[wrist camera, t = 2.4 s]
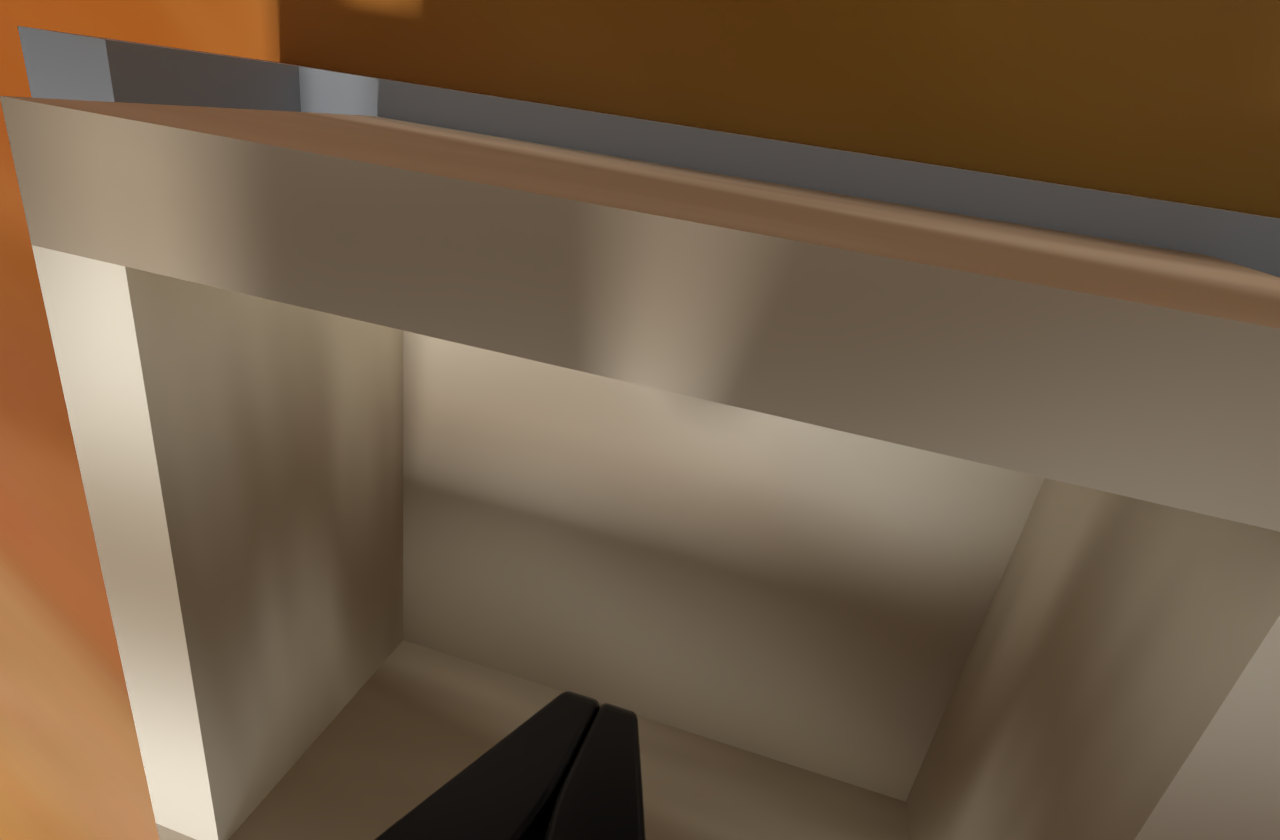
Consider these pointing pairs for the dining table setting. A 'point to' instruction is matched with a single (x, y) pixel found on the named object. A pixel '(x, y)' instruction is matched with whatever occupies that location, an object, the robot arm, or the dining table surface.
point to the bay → (633, 142)
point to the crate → (655, 485)
